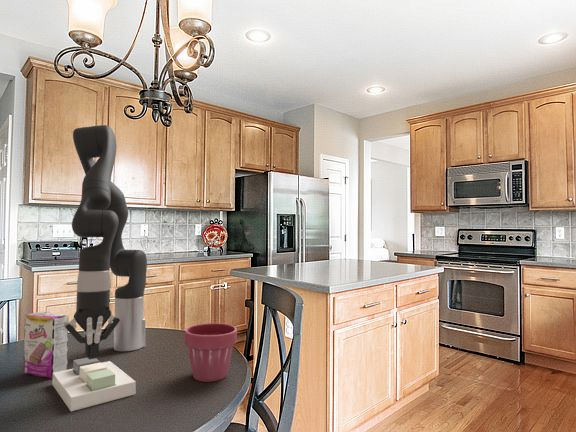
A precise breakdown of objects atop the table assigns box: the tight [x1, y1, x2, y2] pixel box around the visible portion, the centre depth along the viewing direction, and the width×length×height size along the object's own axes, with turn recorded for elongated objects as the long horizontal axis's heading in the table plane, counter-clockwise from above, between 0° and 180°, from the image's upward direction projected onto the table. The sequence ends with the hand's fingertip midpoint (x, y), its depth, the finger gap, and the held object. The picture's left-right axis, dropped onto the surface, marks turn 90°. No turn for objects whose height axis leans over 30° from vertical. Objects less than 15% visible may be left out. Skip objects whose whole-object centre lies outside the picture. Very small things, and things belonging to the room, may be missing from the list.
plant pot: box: [183, 322, 238, 383], centre depth 107 cm, size 14×14×13 cm
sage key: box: [86, 369, 115, 391], centre depth 92 cm, size 5×5×3 cm
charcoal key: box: [72, 357, 100, 375], centre depth 102 cm, size 5×5×3 cm
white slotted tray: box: [51, 360, 137, 412], centre depth 97 cm, size 14×20×3 cm
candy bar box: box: [22, 311, 69, 380], centre depth 108 cm, size 11×5×16 cm, turn 71°
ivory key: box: [79, 361, 107, 383], centre depth 97 cm, size 5×5×3 cm
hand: (91, 358), depth 97 cm, fingers closed
